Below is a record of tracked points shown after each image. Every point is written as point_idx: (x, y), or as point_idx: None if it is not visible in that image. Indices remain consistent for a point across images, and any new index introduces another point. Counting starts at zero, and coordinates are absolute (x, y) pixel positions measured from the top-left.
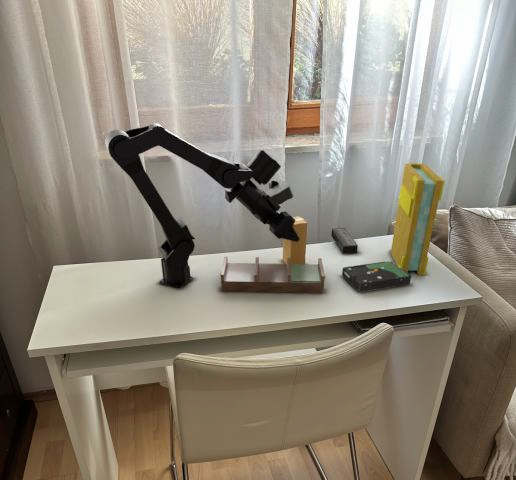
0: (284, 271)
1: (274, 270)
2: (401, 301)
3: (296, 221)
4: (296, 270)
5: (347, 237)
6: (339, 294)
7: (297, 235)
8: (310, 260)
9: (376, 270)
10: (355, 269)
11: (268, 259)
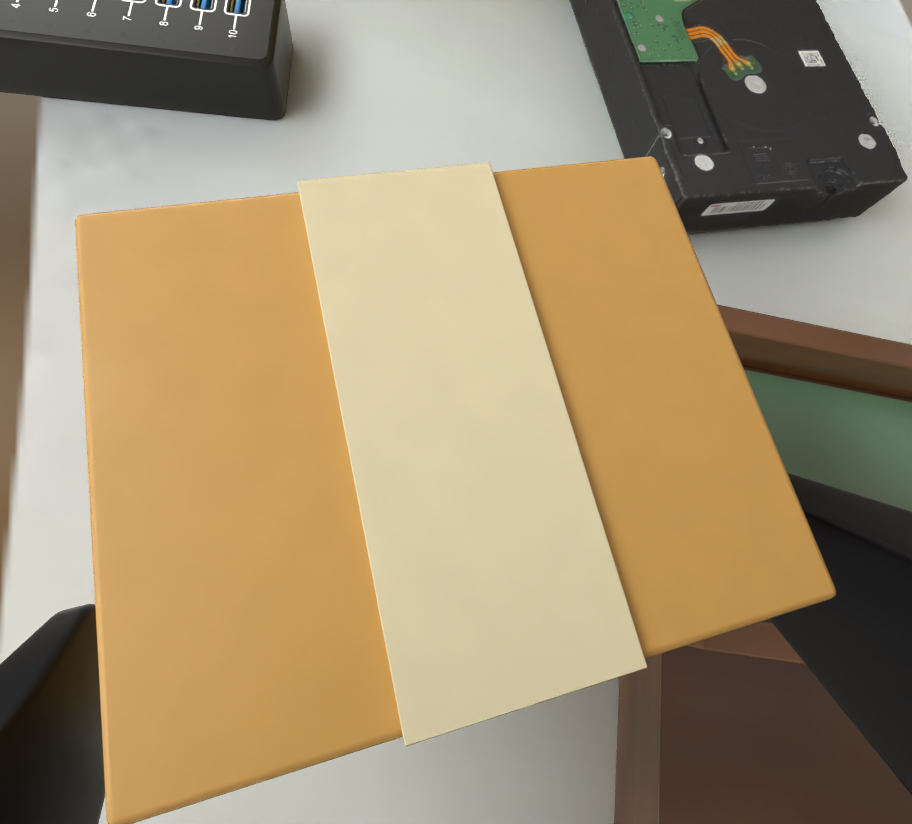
0: None
1: (822, 806)
2: (901, 80)
3: (566, 397)
4: None
5: None
6: (881, 325)
7: (839, 493)
8: None
9: (716, 36)
10: (691, 134)
11: None
